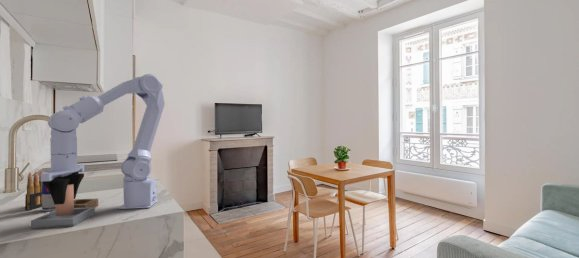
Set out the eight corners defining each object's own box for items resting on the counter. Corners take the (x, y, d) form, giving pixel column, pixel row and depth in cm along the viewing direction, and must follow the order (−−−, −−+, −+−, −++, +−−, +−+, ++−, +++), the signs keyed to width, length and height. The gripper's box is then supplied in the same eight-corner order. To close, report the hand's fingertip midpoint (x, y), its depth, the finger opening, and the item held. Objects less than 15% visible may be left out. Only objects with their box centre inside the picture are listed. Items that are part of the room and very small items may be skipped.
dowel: (77, 211, 77) (76, 183, 77) (67, 215, 73) (67, 186, 73) (62, 211, 77) (61, 184, 77) (51, 216, 73) (51, 187, 73)
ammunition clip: (57, 200, 95) (57, 167, 95) (62, 200, 95) (61, 167, 95) (24, 210, 84) (24, 172, 84) (30, 210, 84) (29, 173, 84)
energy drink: (51, 212, 82) (50, 173, 82) (37, 211, 83) (36, 173, 83) (68, 207, 88) (68, 170, 87) (55, 206, 89) (55, 170, 88)
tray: (95, 213, 81) (94, 207, 81) (73, 226, 71) (73, 218, 71) (58, 215, 79) (58, 208, 79) (31, 228, 70) (30, 220, 70)
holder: (98, 205, 89) (98, 198, 89) (85, 212, 82) (85, 204, 82) (75, 206, 88) (75, 199, 88) (60, 213, 81) (60, 205, 81)
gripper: (66, 151, 81) (67, 195, 82) (26, 157, 67) (27, 210, 67) (91, 150, 82) (92, 194, 83) (57, 156, 68) (58, 209, 68)
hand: (65, 201), depth 75 cm, fingers closed on dowel, 4 cm apart
